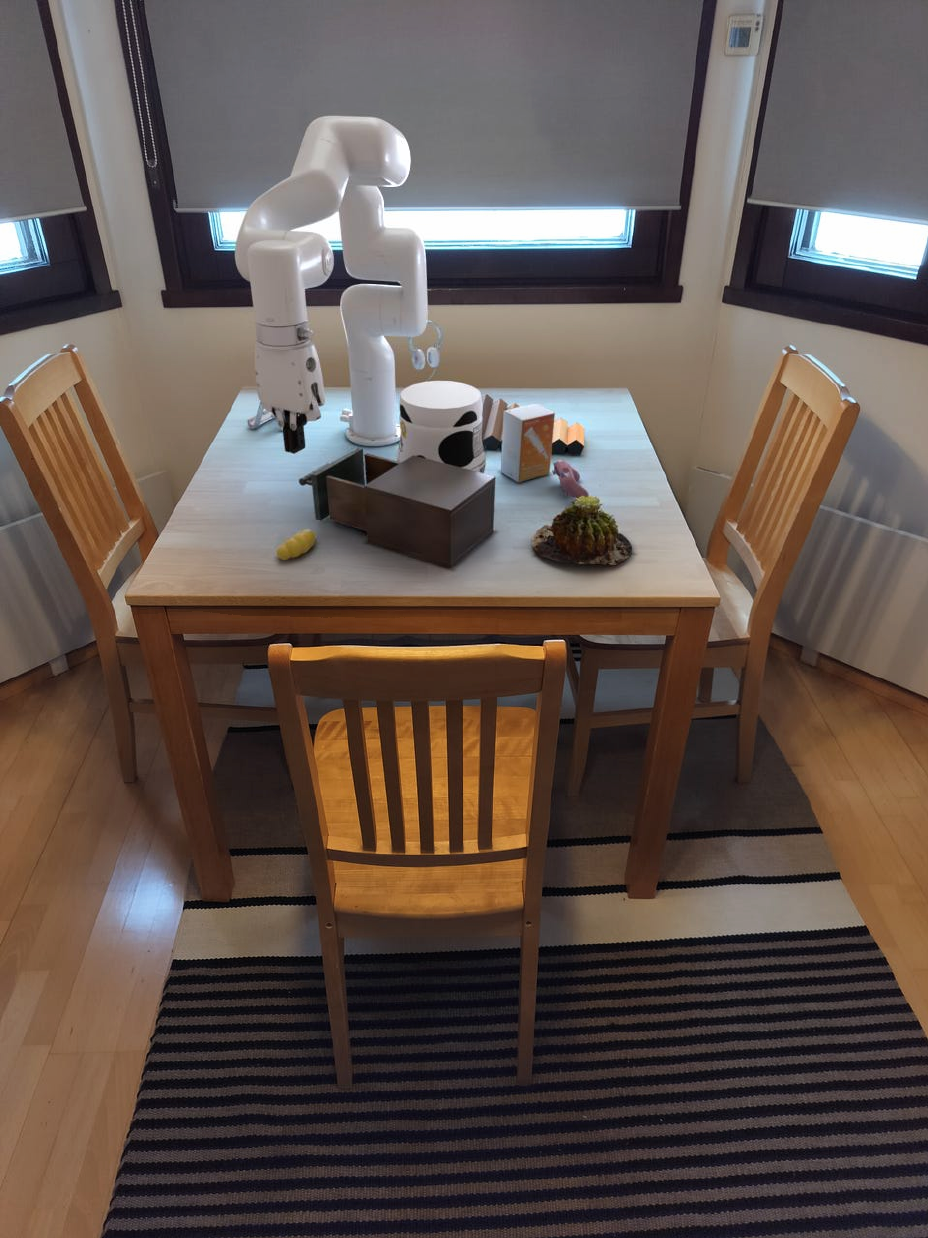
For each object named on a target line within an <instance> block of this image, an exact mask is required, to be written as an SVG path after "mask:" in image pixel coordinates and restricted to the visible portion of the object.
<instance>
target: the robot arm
mask: <svg viewBox="0 0 928 1238" xmlns="http://www.w3.org/2000/svg"><path fill="white" fill-rule="evenodd" d="M410 151H411V150H410V148H409V143H408V141H407V139H406V137H405V136H404V134H403V133H402V132H401V131H400V130H399V129H398V128H396V127H395V126H393V125H392V124H391V123H389V122H388V121H386V120H384V119H382V118H379V117H375V116H351V115H350V116H349V115H325V116H320V117H317V118H315V119H314V120H313V121H311V122H310V124H308V126H307V128H306V130H305V133H304V136H303V138H302V141H301V144H300V147H299V149H298V152H297V155H296V159H295V161H294V164H293V167H292V169H291V173H290V176H288V177H287V178H285V179H283V180H281V181H280V182H278V183H277V184H275V185H273V186H272V187H270V189H268V190H267V191H265V192H264V193H262V194H261V195H259V196H258V197H257V198H256V199H255V200H254V201H253V202H252V203H251V204H250V205H249V207H248V208H247V210H246V212H245V213H244V216H243V219H242V222H241V225H240V227H239V230H238V232H237V238H236V241H235V246H234V260H235V265H236V268H237V271H238V273H239V274H240V275H241V277H242V278H243V279H244V280H246V281H247V282H249V283H250V291H251V300H252V307H253V314H254V315H253V316H254V323H255V330H256V341H255V346H254V376H255V385H256V393H257V397H258V400H259V401H261V402H262V407H263V408H264V410H268V411H269V412H271V413H273V414H274V416H275V417H276V418H277V420H276V422H277V421H278V422H277V424H278V427H279V426H280V427H282V429H283V431H282V437H283V446H284V452H286V453H290V454H294V455H295V454H297V453H299V452H300V451H302V450H304V449H305V448H306V437H305V436H306V435H305V426H306V425H307V424H308V422H316V421H318V420H320V419H321V418H322V413H321V410H320V407H323V406H324V405H325V404H326V395H325V385H324V379H323V373H322V369H321V363H320V359H319V354H318V352H317V348H316V346H315V343H314V342H313V341H310V340H312V339H313V337H314V331H313V330H312V329H309V322H308V321H309V320H308V313H307V311H308V310H307V301H306V289H311V288H316V287H319V286H321V285H323V284H324V283H326V282H327V281H328V279H329V278H330V276H331V274H332V272H333V270H334V266H335V256H334V251H333V247H332V246H331V244H330V242H329V241H328V239H327V238H326V237H324V236H323V235H322V234H319V233H317V232H312V231H298V230H297V229H300V228H304V227H307V226H310V225H314V224H317V223H319V222H322V221H324V220H327V219H329V218H331V217H332V216H334V215H335V214H336V213H337V212H338V217H339V218H338V219H339V228H340V229H339V230H340V238H341V239H340V240H341V247H342V254H343V255H342V256H343V257H342V258H343V262H344V267H345V270H346V272H347V274H348V275H349V276H350V277H352V278H354V279H357V280H365V281H379V282H381V281H383V282H397V283H399V284H400V285H388V284H374V283H373V284H371V283H360V284H354V285H350V286H349V287H347V288H346V289H345V290H344V291H343V292H342V294H341V298H340V303H339V304H340V305H339V306H340V314H341V319H342V324H343V328H344V332H345V337H346V343H347V344H346V345H347V353H348V354H347V355H348V368H349V369H348V371H349V384H350V401H351V410H350V409H347V408H344V409H342V410H341V411H342V412H341V415H340V417H339V420H340V422H344V423H348V426H349V427H348V428H347V429H346V438H347V439H348V440H349V441H350V442H352V443H353V444H356V445H359V446H365V447H384V446H388V445H393V444H396V443H398V442H400V424H399V423H397V422H398V421H397V394H396V392H397V391H396V366H395V365H396V363H395V362H396V361H395V355H394V354H395V353H394V350H393V349H392V347H391V345H390V344H389V342H388V341H387V339H386V338H385V336H387V337H388V336H389V337H404V338H405V337H407V338H409V337H413V338H415V337H419V336H421V335H422V334H423V333H424V332H425V331H426V329H427V325H428V323H427V320H429V319H428V318H429V317H428V315H429V310H428V308H429V303H428V279H427V257H426V250H425V249H426V248H425V243H424V240H423V237H422V235H421V234H420V233H419V232H418V231H416V230H414V229H413V228H407V227H390V226H388V225H387V224H386V219H385V207H384V203H385V202H384V198H383V195H382V193H381V190H380V189H379V187H386V188H387V187H391V188H392V187H400V186H401V185H403V184H404V183H405V182H406V180H407V178H408V176H409V173H410V168H411V152H410ZM276 418H275V419H276ZM280 427H279V428H280Z"/></svg>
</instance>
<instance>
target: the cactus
mask: <svg viewBox="0 0 928 1238" xmlns="http://www.w3.org/2000/svg"><path fill="white" fill-rule="evenodd" d="M579 498H580V499H578V498H574V499H575V501H574V500H571V501H570V503H571V504H572V505H570V506H569V507H565V508H564V509H563V510H561V511H560V513H558V514H556V516H554V518H552V522H551V525H548V524H545V525H543V526H542V527H541V528H539V529H538V530H536V532H535V534H534V536H532V539H531V545H532V547H533V549H534V551H535V553H536V555H538V556H539V557H540V558H547V559H550V560H552V561H556V562H560V563H574V562H575V563H576V564H578V565H584V564H591V565H593V564H594V565H597V564H598V565H600V564H601V565H602V564H603V565H604V566H606V565H607V564H608V565H612V566H614V565H615V566H617V565H618V564H619V563H621V562H624V561H625V560H627V559H628V558H630V557H631V555H632V553H633V545H632V543H631V542H630V541H629V539H628V537H626V536H625V535H624V534H622V533H621V532H619V526H618V525H617V521H616V518H615V517H614V514H613V515H610V514H609V513H606V512H605V511H606V510H603V508H601V506H602V505H604V503H603V502H601V499H600V498H599V497H597V496H593V495H589V496H588V498H587V497H585V496H581V497H579Z"/></svg>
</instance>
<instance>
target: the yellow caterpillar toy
mask: <svg viewBox="0 0 928 1238" xmlns="http://www.w3.org/2000/svg"><path fill="white" fill-rule="evenodd" d="M315 540H316V533H315V532H314V531H313V530H311V529H305V530H304V529H303V530H300V531H299V532H298V533H295V534H294V535H292V537H291V538H288V539H287V540H285V541H284V543H283V544H282V545H279V546H278V547H277V549H276V552H275V553H276V556H277V558H278V559H280V560H282V561H287V560H289V559H290V558H297V557H299V556H300V555H302V554H306V553H307V552H308V551H309V550H310V549H311V548H313V546H314V545H315V542H316V541H315Z"/></svg>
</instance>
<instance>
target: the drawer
mask: <svg viewBox="0 0 928 1238" xmlns="http://www.w3.org/2000/svg"><path fill="white" fill-rule="evenodd" d="M400 463H402V462H398V461H396V460H395V459H394V460H393V459H390V458H386V457H382V456H379V455H375V454H371V453H367V452H366V453H364V449H363V448H361V447H356V448H354V449H352V450H351V451H348V452H347V453H345V454H344V455H342V456H340V457H338V458H337V459H335V460H333V461H331V462H327V463H325V464H324V465H322V466H320V467H318V468H317V469H314V470H313V471H311V472H309V473H307V474H306V475H304V476H302V477H300V478H299V479H298V483H299V485H300V486H301V487H302V486H303V487H304V486H305V485H306V486H311V489H312V498H313V508H314V517H315V520H316V521H319V522H322V521H323V520H325V519H326V518H329V520H330V521H331V522H332V521H333V522H336V523H339V524H342V525H346V526H348V527H353V528H355V529H358V530H362V531H364V532H367V524H366V508H365V490H364V486H365V485H367V484H368V483H370V482H371V481H373V480H374V479H376V478H378V477H379V476H381V475H382V474H384V473H386V472H387V471H389V470H390V469H392V468H394V467H395V466H397V465H398V464H400Z"/></svg>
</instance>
